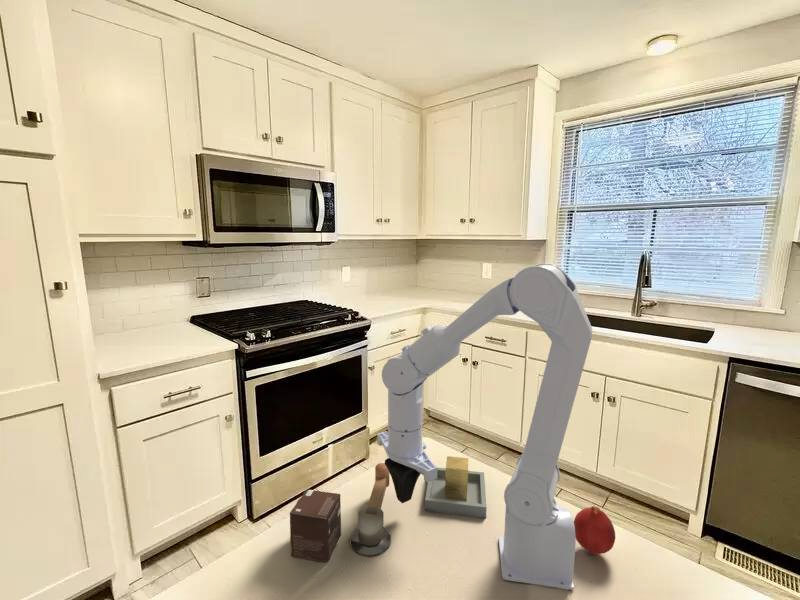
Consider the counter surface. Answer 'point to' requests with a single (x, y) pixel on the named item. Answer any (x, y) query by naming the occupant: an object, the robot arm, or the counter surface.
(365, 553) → the crank base
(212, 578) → the counter surface
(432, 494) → the tray
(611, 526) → the onion
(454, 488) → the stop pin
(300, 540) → the box
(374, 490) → the crank
